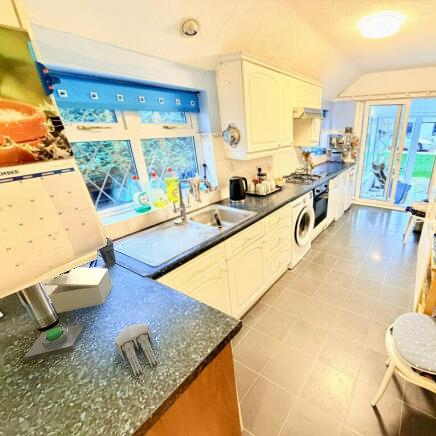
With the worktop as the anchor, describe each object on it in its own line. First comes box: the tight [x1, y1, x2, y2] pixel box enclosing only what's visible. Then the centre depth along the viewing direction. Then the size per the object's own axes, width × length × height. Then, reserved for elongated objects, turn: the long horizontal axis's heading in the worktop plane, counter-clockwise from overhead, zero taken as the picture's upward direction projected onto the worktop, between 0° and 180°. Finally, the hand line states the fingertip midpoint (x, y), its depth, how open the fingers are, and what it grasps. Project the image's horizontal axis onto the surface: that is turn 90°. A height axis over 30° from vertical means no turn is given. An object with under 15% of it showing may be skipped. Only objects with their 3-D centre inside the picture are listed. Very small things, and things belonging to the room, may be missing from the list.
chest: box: [49, 270, 114, 314], centre depth 100 cm, size 16×13×9 cm
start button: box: [46, 327, 62, 340], centre depth 79 cm, size 4×4×2 cm
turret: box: [113, 322, 159, 378], centre depth 78 cm, size 10×20×5 cm, turn 45°
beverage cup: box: [98, 236, 117, 267], centre depth 124 cm, size 7×7×20 cm
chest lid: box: [43, 267, 109, 287], centre depth 97 cm, size 16×13×5 cm
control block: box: [23, 323, 87, 363], centre depth 80 cm, size 12×10×4 cm
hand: (67, 271), depth 95 cm, fingers closed
